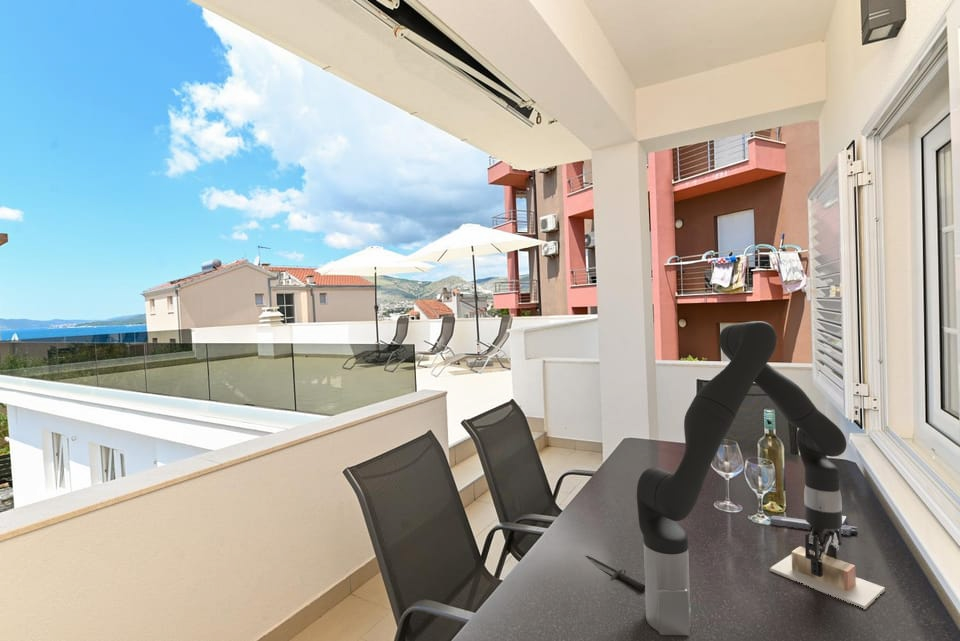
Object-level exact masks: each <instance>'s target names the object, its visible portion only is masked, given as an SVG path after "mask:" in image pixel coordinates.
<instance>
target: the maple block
mask: <svg viewBox="0 0 960 641" xmlns="http://www.w3.org/2000/svg"><path fill="white" fill-rule="evenodd" d="M791 554H792V570H795V571H797V572H800V573H803V574H805V575H808V576H810V577H813V578H815V579H818V580H821V581H823V582H826V583H828V584H831V585H833V586H836V587H839V588H841V589H844V590H846V591H849V590H850V589H851V588H852V587H853V586H855V585H856V577H857V576H856V564H855V565H854V564H852V563H850V562H849V563H848V562H846V561H844V560H840V559H835V558H832V557H829V556H826V554H824V556H823V560H822V568H823V576H821V577H818V576H816V575H813V574H812V573H811V560H810V559H807V558H806V557H805V547H804V546H800V545H799V546H798V547H797V548H795V549H794V550H791ZM814 555H815V552H814Z"/></svg>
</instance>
